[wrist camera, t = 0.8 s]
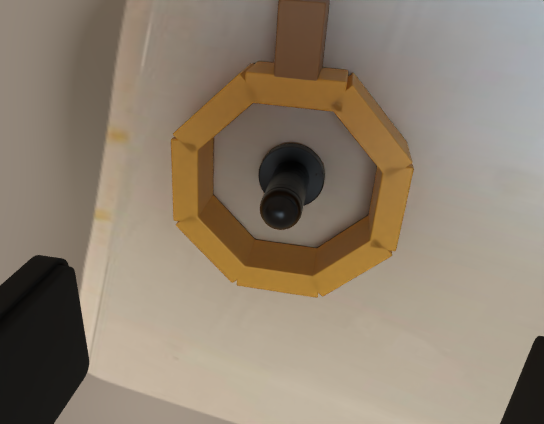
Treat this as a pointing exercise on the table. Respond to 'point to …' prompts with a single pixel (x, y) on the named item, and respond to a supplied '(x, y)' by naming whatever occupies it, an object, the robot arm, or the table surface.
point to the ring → (300, 94)
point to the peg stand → (289, 184)
